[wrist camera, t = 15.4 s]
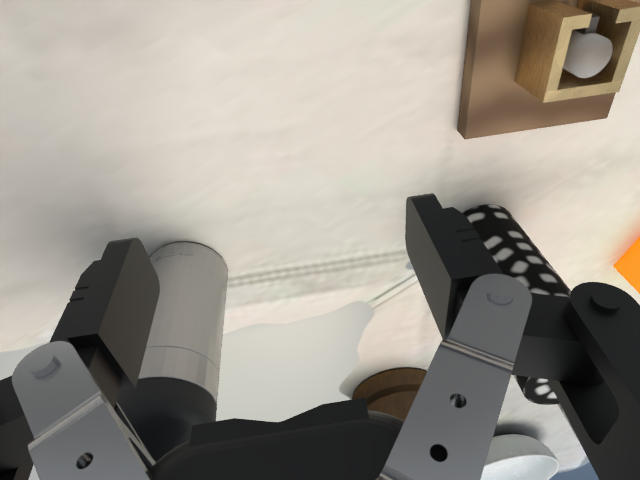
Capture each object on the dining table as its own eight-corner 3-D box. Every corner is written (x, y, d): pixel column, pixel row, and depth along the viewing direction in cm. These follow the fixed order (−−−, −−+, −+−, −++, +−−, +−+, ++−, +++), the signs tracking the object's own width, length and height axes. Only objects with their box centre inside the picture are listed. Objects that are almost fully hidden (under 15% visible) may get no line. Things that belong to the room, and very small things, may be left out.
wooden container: (355, 421, 77) (382, 571, 60) (348, 375, 68) (378, 537, 51) (436, 407, 77) (485, 553, 60) (440, 360, 68) (501, 516, 51)
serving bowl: (474, 476, 99) (487, 509, 94) (424, 452, 88) (435, 488, 83) (558, 439, 91) (576, 473, 86) (514, 408, 81) (532, 445, 75)
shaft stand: (594, 110, 43) (642, 141, 37) (457, 130, 43) (486, 164, 37) (657, -91, 33) (736, -88, 27) (478, -65, 32) (521, -58, 27)
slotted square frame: (582, 71, 38) (619, 91, 34) (514, 81, 38) (543, 102, 34) (604, -7, 34) (648, 5, 30) (528, 3, 34) (563, 17, 30)
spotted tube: (525, 208, 50) (644, 348, 34) (494, 261, 55) (586, 405, 39) (460, 201, 48) (555, 345, 33) (434, 256, 53) (506, 404, 38)
